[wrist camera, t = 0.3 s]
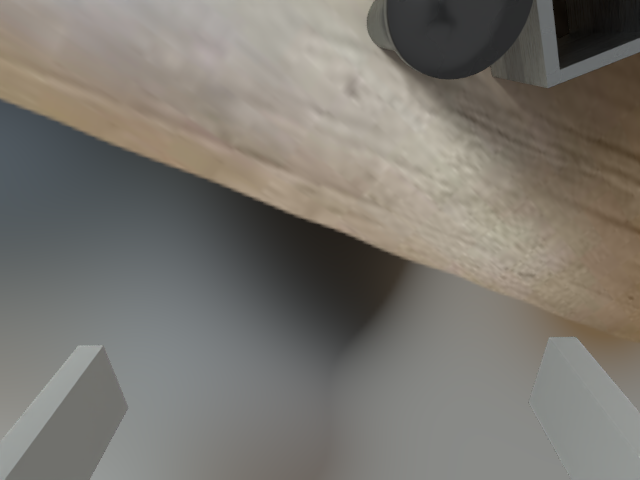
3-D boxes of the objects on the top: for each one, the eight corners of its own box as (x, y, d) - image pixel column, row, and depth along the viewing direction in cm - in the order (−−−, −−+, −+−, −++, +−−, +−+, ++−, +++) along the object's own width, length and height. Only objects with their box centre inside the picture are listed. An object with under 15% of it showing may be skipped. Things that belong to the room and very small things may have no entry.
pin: (346, -2, 29) (368, -47, 14) (417, -36, 28) (523, -126, 13) (370, 71, 32) (410, 100, 16) (435, 42, 31) (544, 45, 15)
